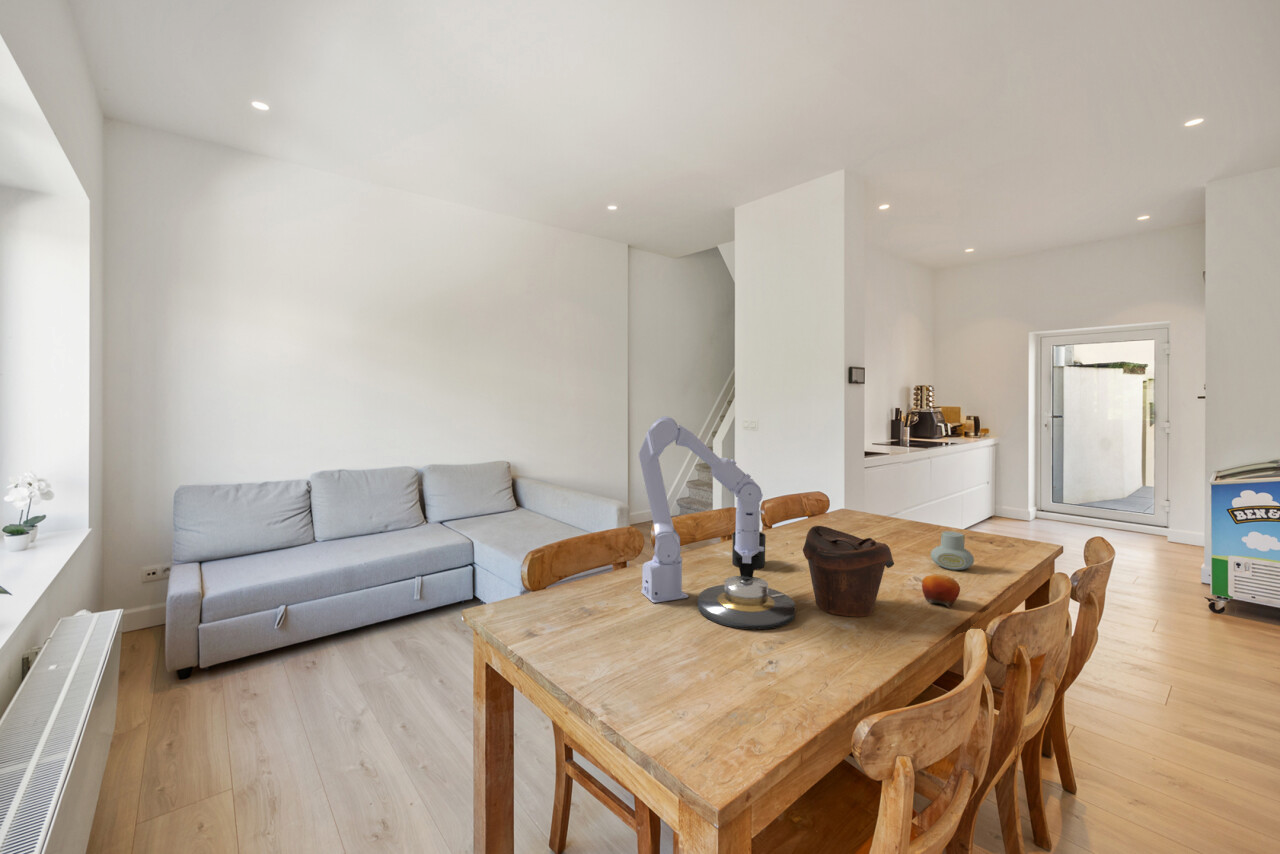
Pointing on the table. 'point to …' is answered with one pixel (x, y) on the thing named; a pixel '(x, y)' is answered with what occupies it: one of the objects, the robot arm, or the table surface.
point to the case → (845, 570)
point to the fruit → (940, 589)
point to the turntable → (746, 610)
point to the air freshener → (952, 552)
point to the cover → (746, 590)
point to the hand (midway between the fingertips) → (746, 583)
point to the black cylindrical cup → (761, 553)
